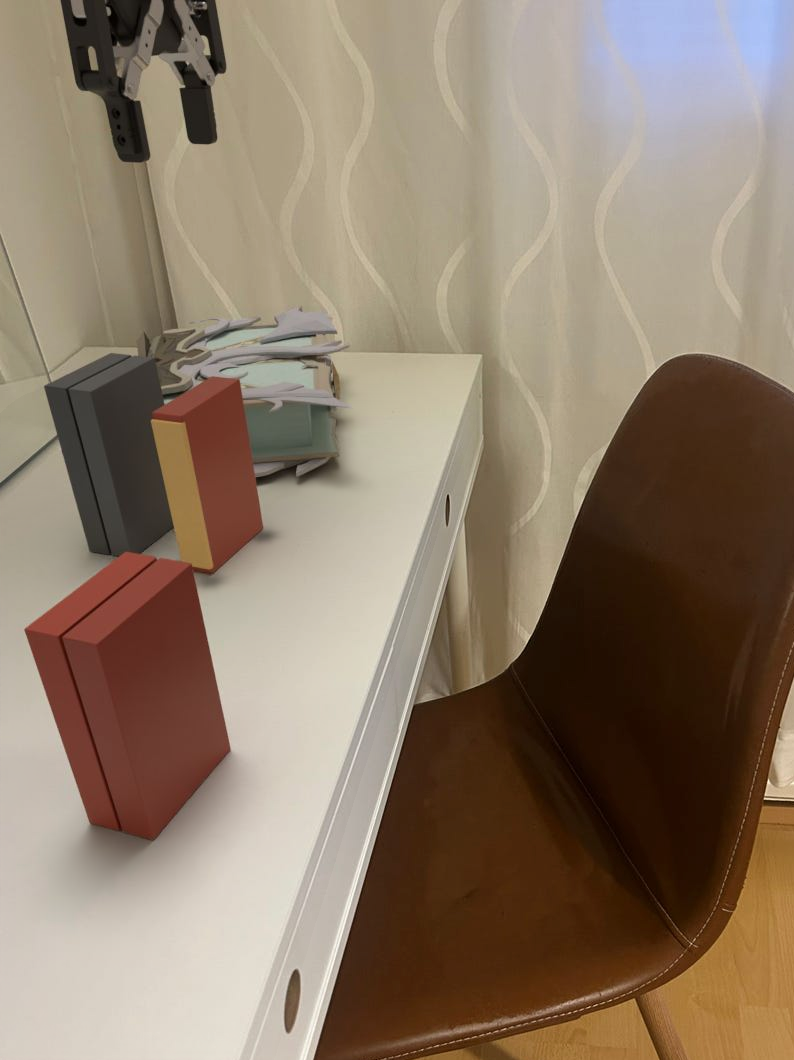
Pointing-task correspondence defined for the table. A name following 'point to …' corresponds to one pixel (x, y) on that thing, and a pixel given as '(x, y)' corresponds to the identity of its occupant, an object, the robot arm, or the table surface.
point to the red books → (133, 691)
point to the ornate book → (263, 380)
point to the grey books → (113, 451)
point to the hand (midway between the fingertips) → (170, 152)
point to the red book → (208, 472)
